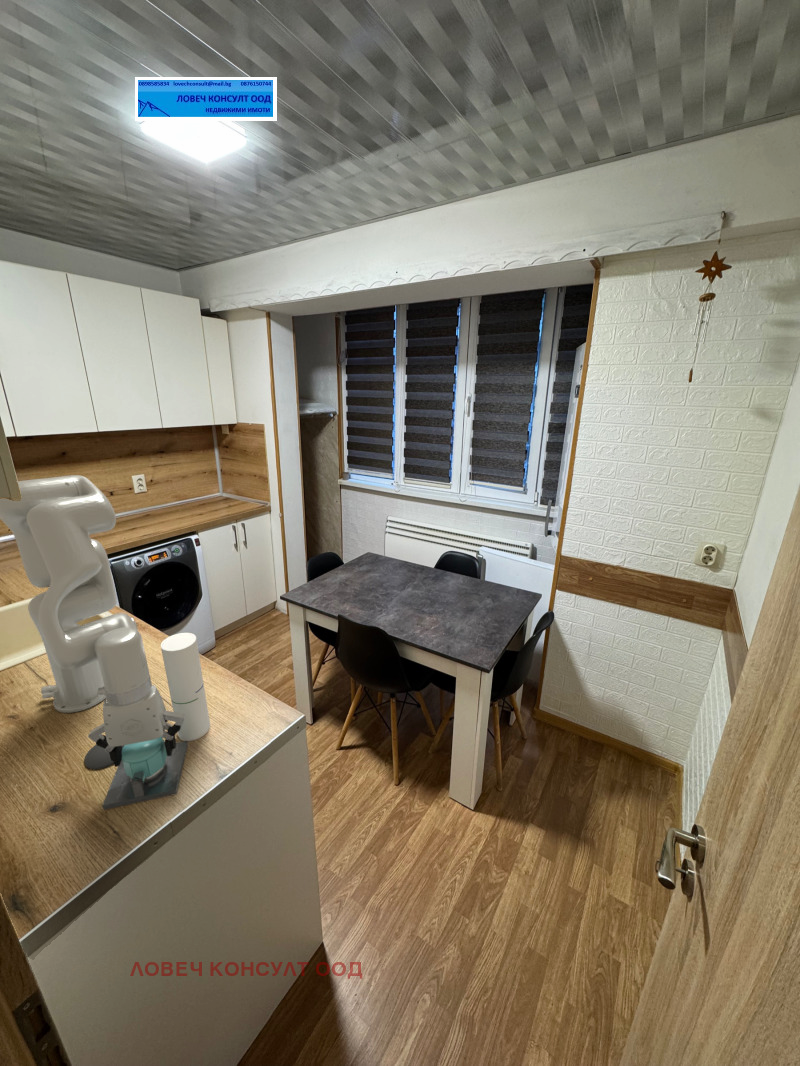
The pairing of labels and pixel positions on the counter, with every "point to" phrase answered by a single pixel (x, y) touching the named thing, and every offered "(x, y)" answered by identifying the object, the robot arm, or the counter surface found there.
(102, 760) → the coaster
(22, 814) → the counter surface
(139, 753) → the cap
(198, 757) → the counter surface
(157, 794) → the grey square base plate
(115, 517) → the robot arm
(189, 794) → the counter surface
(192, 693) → the cylindrical container
